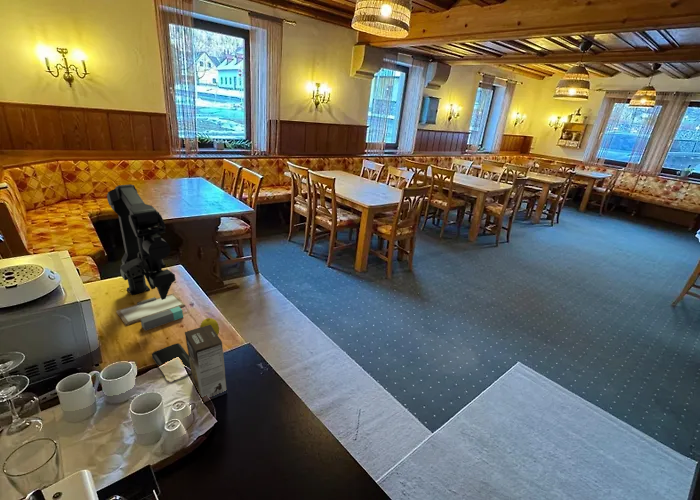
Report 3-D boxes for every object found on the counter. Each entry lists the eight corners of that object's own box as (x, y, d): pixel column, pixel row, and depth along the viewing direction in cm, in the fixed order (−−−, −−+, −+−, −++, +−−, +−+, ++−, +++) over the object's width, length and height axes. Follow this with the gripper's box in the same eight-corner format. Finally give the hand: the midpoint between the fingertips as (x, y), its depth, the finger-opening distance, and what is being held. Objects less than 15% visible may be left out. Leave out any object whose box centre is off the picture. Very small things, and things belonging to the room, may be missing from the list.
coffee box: (191, 383, 90) (183, 331, 84) (216, 373, 94) (210, 323, 88) (201, 405, 84) (194, 351, 78) (228, 394, 87) (222, 341, 82)
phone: (168, 381, 90) (150, 353, 99) (169, 385, 90) (151, 356, 100) (198, 367, 95) (179, 342, 105) (199, 371, 95) (179, 345, 105)
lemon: (223, 335, 110) (221, 314, 107) (215, 346, 105) (212, 324, 102) (206, 334, 110) (203, 312, 107) (197, 344, 105) (194, 322, 102)
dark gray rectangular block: (142, 326, 112) (140, 319, 111) (179, 313, 120) (178, 306, 119) (145, 330, 110) (143, 323, 109) (183, 317, 118) (182, 309, 117)
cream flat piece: (116, 312, 119) (115, 308, 119) (173, 294, 132) (173, 291, 132) (126, 325, 112) (125, 322, 112) (185, 305, 125) (184, 302, 125)
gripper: (111, 246, 106) (121, 291, 112) (130, 265, 94) (140, 314, 100) (150, 238, 114) (158, 281, 120) (172, 255, 102) (179, 301, 108)
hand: (158, 293), depth 112 cm, fingers open, 9 cm apart
